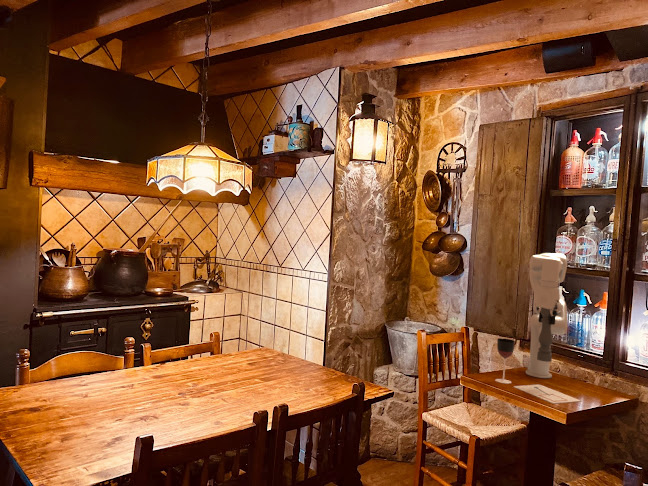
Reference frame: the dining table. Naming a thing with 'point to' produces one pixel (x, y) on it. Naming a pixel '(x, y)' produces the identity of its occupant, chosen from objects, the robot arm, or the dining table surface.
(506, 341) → the wineglass
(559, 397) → the paper sheet
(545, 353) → the candle holder
